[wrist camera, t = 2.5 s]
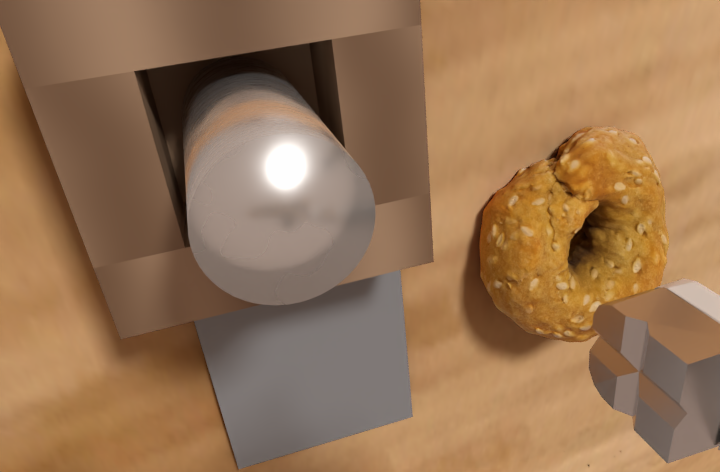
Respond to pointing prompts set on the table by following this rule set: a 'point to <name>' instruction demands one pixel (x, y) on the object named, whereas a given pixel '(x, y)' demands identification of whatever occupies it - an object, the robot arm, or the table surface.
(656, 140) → the table surface
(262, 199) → the part
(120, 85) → the pocket block
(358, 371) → the mat
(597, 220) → the bagel
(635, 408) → the robot arm
